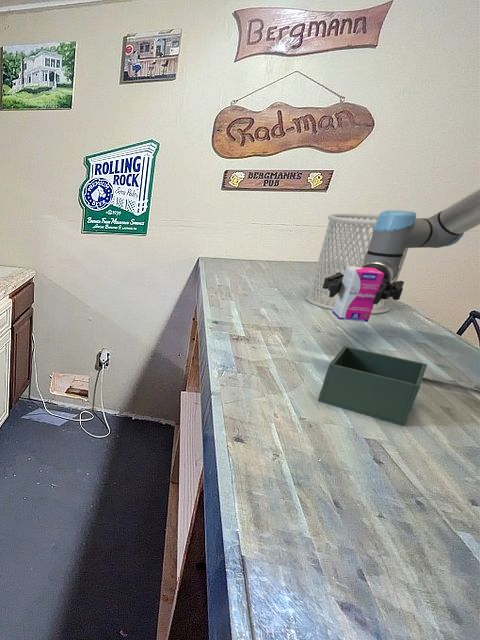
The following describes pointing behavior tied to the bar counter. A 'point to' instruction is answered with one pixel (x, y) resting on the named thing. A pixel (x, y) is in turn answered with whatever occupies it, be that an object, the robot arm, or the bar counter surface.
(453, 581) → the bar counter surface
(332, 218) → the wastebasket
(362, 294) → the supplement box
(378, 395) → the bin
